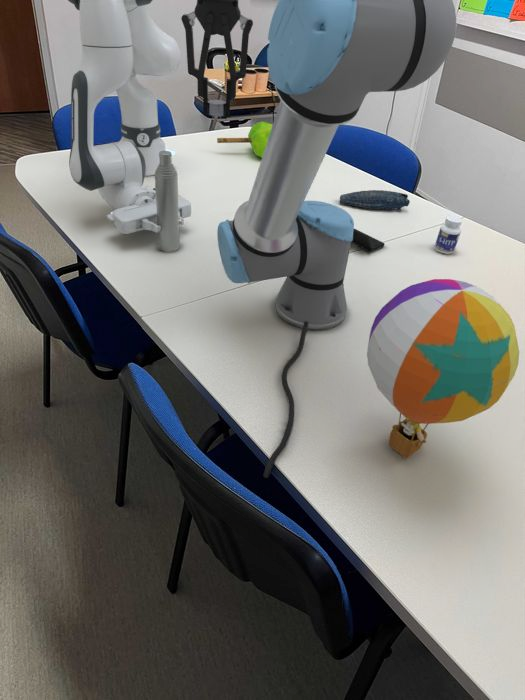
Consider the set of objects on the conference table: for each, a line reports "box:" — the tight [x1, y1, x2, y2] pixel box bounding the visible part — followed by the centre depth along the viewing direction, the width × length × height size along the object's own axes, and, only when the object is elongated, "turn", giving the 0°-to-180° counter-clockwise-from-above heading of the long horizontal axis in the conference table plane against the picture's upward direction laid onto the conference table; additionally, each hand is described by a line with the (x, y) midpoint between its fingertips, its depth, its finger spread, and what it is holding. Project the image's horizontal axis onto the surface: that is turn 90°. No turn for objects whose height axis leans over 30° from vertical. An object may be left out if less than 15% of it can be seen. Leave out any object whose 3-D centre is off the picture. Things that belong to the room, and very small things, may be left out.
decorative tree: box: [216, 121, 273, 158], centre depth 186 cm, size 18×10×30 cm
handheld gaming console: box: [351, 228, 385, 253], centre depth 138 cm, size 12×7×10 cm
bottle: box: [154, 150, 180, 253], centre depth 123 cm, size 5×5×24 cm
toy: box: [366, 278, 520, 459], centre depth 74 cm, size 20×20×30 cm
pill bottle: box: [434, 215, 463, 255], centre depth 137 cm, size 5×5×9 cm
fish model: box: [339, 189, 411, 211], centre depth 158 cm, size 7×21×5 cm, turn 84°
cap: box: [207, 99, 226, 117], centre depth 106 cm, size 4×4×2 cm
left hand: (170, 225), depth 126 cm, fingers closed on bottle, 5 cm apart
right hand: (216, 114), depth 106 cm, fingers closed on cap, 4 cm apart
